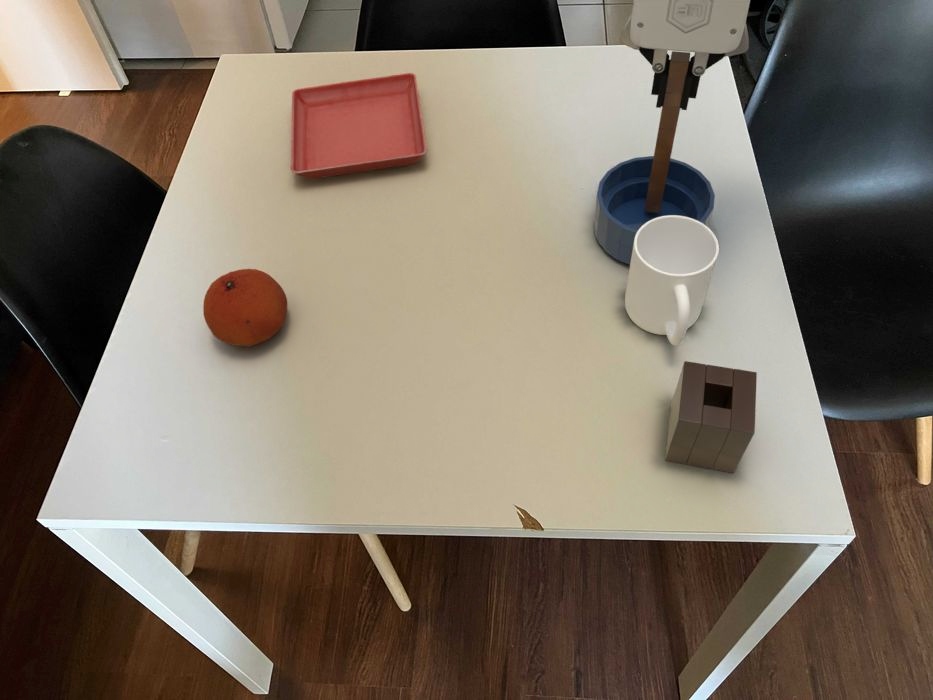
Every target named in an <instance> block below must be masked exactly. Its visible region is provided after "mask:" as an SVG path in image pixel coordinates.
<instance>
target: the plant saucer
mask: <svg viewBox="0 0 933 700" xmlns="http://www.w3.org/2000/svg"><path fill="white" fill-rule="evenodd" d="M422 114H423V113H422V108H421V102H420V95H419V88H418V79H417V75H416V74H415V73H414V72H407V73H400V74H392V75H391V74H390V75H386V76H385V75H384V76H379V77H371V78H364V79H357V80H350V81H343V82H336V83H329V84H323V85H316V86H309V87H302V88H296V89H294V90H293V91H292V93H291V127H290V128H291V130H290V131H291V135H290V171H291V173H292V174H294V175H296V176H299V177H301V178H302V177H303V178H308V179H320V178H327V177H333V176H340V175H347V174H353V173H355V174H356V173H360V172H368V171H374V170H382V169H388V168H396V167H401V166H409V165H412V164H415V163H417V162H418V161H419V160H421V159H423V157H425V155H426V154H427V152H428V148H427V142H426V135H425V128H424V122H423V115H422Z"/></svg>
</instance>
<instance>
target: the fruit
mask: <svg viewBox="0 0 933 700" xmlns="http://www.w3.org/2000/svg"><path fill="white" fill-rule="evenodd" d="M202 309H203V310H202V311H203V317H204V322H205V324H206V326H207V327H208V329H209V330H210V332H211V334H212V336H214V337H215V338H216V339H217V340H219V341H221V342H223V343H226V344H229V345H232V346H241V347H249V346H250V347H251V346H255V345H258V344H260V343H262V342H264V341H267V340H269V339H271V338H272V337H273V336H274V335H275V334H276V333H277V332H278V331H280V329H281V328H282V326H283V324H284V322H285V320H286V317H287V312H288V299H287V294H286V293H285V291H284V288H283V286H281V285H280V284H279V283H278V281H277V280H276V279H274V277H272V276H271V275H270V274H268V273H267V272H265V271H262V270H258V269H256V268H242V269H237V270H233V271H229V272H227V273H225V274H223V275H220V276H219V277H217V278H216V279H215V280H214V281H213V282H212V283H211V284H210V285H209V287H208V289H207V290H206V294H204V299H203V307H202Z"/></svg>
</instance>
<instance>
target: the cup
mask: <svg viewBox="0 0 933 700" xmlns="http://www.w3.org/2000/svg"><path fill="white" fill-rule="evenodd" d="M719 254H720V245H719V241H718V238H717V236H716V234H715V233H714V232H713V230H711V229H710V228H709V226H708V227H707V226H706V225H704V224H703V223H701V222H699V221H697V220H695V219H692V218H689V217H685V216H678V215H668V216H661V217H657V218H654V219H652V220H650V221H648V222H647V223H645V224H644V225H643V226H642V227H641V228H640V229H639V230H638V231H637V233H636V235H635V238H634V244H633V251H632V257H631V263H630V265H629V269H628V276H627V282H626V288H625V295H624V307H625V311H626V313H627V315H628V317H629V318H630V320H631V321H632V322H633V323H634V324H635V325H636V326H637V327H638V328H640V329H642V330H644V331H646V332H648V333H651V334H655V335H661V336H666V337H667V340H668V342H669V343H670V344H671V345H672V346H676V347H677V346H680V345H682V343H683V342H684V340H685V338H686V335H687V330H688V329H689V328H690V327H692V326H693V325H694V324H695V323H696V322H697V320H698V318H699V317H700V315H701V311H702V309H703V306H704V304H705V299H706V296H707V293H708V290H709V287H710V284H711V280H712V278H713V273H714V270H715V267H716V263H717V260H718V258H719Z"/></svg>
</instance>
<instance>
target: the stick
mask: <svg viewBox="0 0 933 700" xmlns="http://www.w3.org/2000/svg"><path fill="white" fill-rule="evenodd" d="M690 58H691V52H684V51H671V54H670V58H669V59H670V65H669V71H668V73H669V76H668V81H667V87H666V93H665V99H664V105H663V107H661V113H660V118H659V124H658V130H657V135H656V141H655V147H654V153H653V156H654V158H653V163H652V169H651V175H650V181H649V187H648V192H647V198H646V204H645V210H644V211H645V212H652V213H660V208H661V203H662V198H663V193H664V188H665V183H666V178H667V173H668V168H669V163H670V158H672V153H673V146H674V142H675V137H676V133H677V132H676V131H677V127H678V122H679V117H680V112H681V108H680V104H681V98H682V93H683V88H684V83H685V78H686V74H687V71H688V66H689V61H690Z"/></svg>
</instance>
